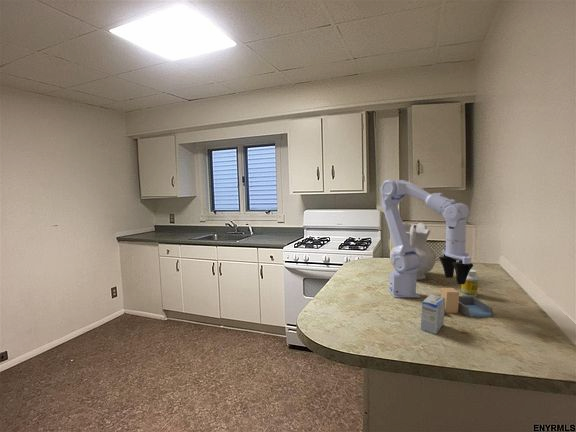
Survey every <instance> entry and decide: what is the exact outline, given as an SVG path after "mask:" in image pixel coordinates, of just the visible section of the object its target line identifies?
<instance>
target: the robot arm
mask: <svg viewBox="0 0 576 432" xmlns="http://www.w3.org/2000/svg"><path fill="white" fill-rule="evenodd" d="M379 191H380V194H381V207H382V210H383V214H384V217H385V220H386V224H387V227H388V230H389V233H390V236H391V238H392V242H393V246H394V247H395V250H394V251H393V253H392V256H393V265H392V266H393V268H394V271H392V270H391V271H390V272H389V276H388V277H389V279H388V292H389V293H390V294H391V295H392V297H394V298H413V299H414V298H417V299H418V298H420V297H421V296H420V295H419V294H418V293H417V292H416V291H417V280H416V278H417V271H418V268H419V267H420V266H421V258H420V256H419V255H418V254H417V252H416V250H415V248H414V247H412V246H411V245H410V244H409V241H408V238H407V234H406V231H405V228H404V225H403V224H404V222H403V219H402V216H401V213H400V210H399V208H398V206H399V204H400V202H401V201H402V200H404V198H405V197H406V196H407V195H409V196H411V197H412V198H415V199H416V200H420V201H422V202H424V203H425V204H426V207H427V209H430V210H432V211H434V212H436V213H437V214H440V215H441V216H442V217H443V218H444V220H445V225H446V227H445V229H446V230H445V249H441V255H442V256H439V258H438V259H439V260H440V263H441V265H442V268H443V271H444V276H445V278H446V279H453V278H454V273H455V280H456V284H457V285H461V284H465V282H466V278H467V275H468V273H469V271H470V269H472V268H473V267H474V263H473V262H471V260H472V258H471V257H470V256H469V255H470V254H469V253H467V252H466V245H467V243H466V239H467V238H466V236H467V233H466V232H467V219H468V218H469V216H470V213H471V211H470V208H469V206H468V205H467V204H465V203H464V202H457V203H456V200H455V199H454V198H451V199H450V198H448V197H446V196H444V194H443V193H442V192H434V193H430V192H428V191H426V190H424V189H423V188H421V187H420V186H417V185H415V184H414V183H412V181H411V182H410V181H407V180H405V179H399V180H397V179H396V180H395V179H394V180H392V179H386V180H384V181H383V183H382V184H381V186H380V188H379Z"/></svg>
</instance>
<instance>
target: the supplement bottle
mask: <svg viewBox="0 0 576 432" xmlns="http://www.w3.org/2000/svg"><path fill="white" fill-rule="evenodd" d="M478 283H479V277H478V276H477V270H475V269H472V268H471V269H470V271H469V273H468V275H467V278H466V282H465V284H460V286H461V288H460V294H461V296H474V297H476V298H477V296H478Z"/></svg>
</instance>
